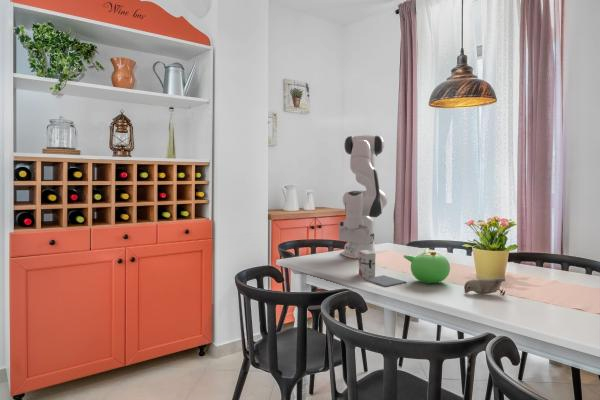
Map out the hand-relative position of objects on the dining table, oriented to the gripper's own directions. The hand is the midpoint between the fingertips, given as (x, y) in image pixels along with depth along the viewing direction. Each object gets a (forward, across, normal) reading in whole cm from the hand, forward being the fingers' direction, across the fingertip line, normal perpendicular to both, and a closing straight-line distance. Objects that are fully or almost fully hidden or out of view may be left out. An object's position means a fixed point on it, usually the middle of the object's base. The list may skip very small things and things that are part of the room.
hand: (353, 251), depth 212 cm
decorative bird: (+11, -59, -20) cm, 63 cm away
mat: (+10, -22, 0) cm, 24 cm away
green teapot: (+10, -34, -16) cm, 39 cm away
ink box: (+10, -10, 0) cm, 14 cm away
